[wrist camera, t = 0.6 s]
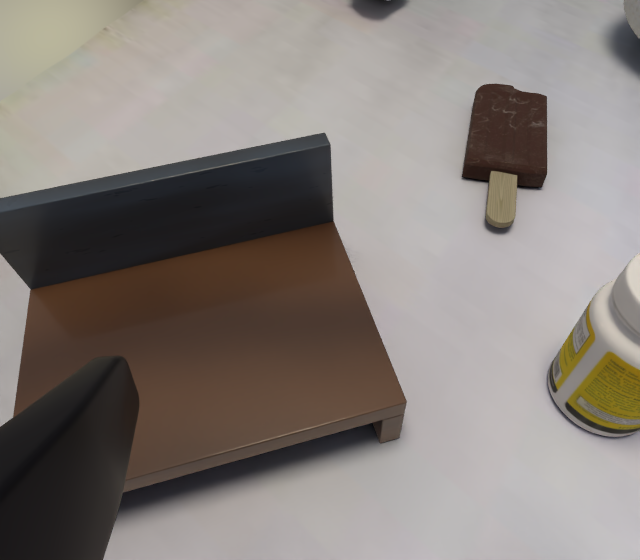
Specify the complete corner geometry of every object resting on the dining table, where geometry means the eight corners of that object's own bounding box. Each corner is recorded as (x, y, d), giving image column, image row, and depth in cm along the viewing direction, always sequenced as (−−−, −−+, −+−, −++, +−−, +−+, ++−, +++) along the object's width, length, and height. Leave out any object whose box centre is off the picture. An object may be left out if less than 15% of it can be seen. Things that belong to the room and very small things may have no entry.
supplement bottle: (672, 423, 23) (800, 324, 16) (582, 452, 22) (678, 361, 16) (608, 339, 26) (695, 227, 19) (527, 362, 25) (588, 254, 19)
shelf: (399, 438, 23) (420, 337, 16) (51, 538, 21) (-98, 473, 14) (331, 255, 31) (325, 131, 24) (66, 317, 29) (-26, 203, 22)
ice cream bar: (540, 241, 30) (541, 106, 39) (548, 222, 29) (547, 87, 38) (453, 227, 32) (473, 99, 40) (458, 208, 30) (477, 80, 39)
